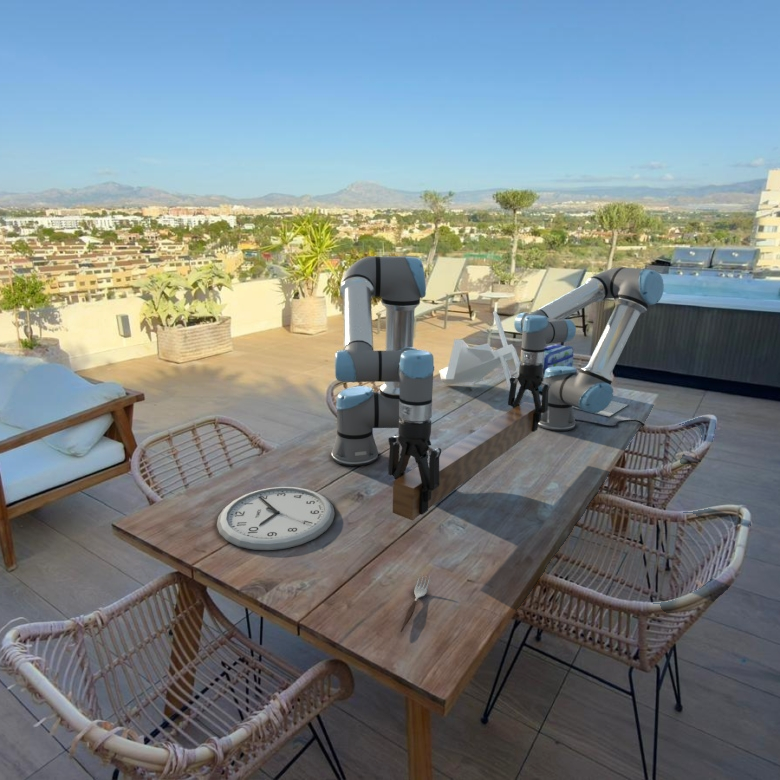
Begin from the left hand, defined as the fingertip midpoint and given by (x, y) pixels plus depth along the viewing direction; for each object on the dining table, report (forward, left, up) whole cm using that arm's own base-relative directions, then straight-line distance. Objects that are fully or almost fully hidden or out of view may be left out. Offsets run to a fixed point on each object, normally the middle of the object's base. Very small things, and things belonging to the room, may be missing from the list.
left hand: (412, 507), depth 127 cm
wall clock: (-15, -33, -8) cm, 37 cm away
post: (-23, +25, -1) cm, 34 cm away
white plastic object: (-110, +59, -8) cm, 125 cm away
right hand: (-46, +51, 0) cm, 69 cm away
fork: (+25, -5, -8) cm, 27 cm away
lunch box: (-110, +94, -8) cm, 145 cm away
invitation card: (-83, +104, -8) cm, 133 cm away
